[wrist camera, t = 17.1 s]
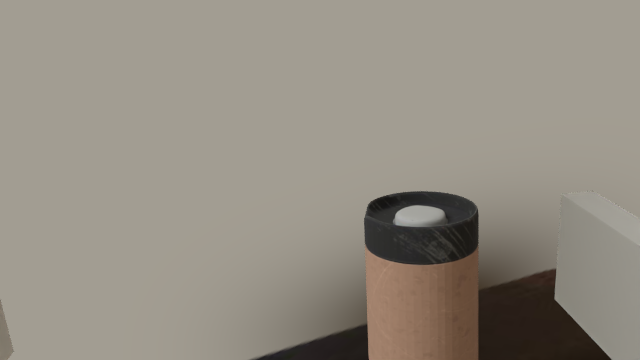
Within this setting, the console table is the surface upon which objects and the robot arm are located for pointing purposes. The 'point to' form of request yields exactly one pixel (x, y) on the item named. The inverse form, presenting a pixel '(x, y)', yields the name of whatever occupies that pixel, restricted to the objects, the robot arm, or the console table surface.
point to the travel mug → (422, 277)
